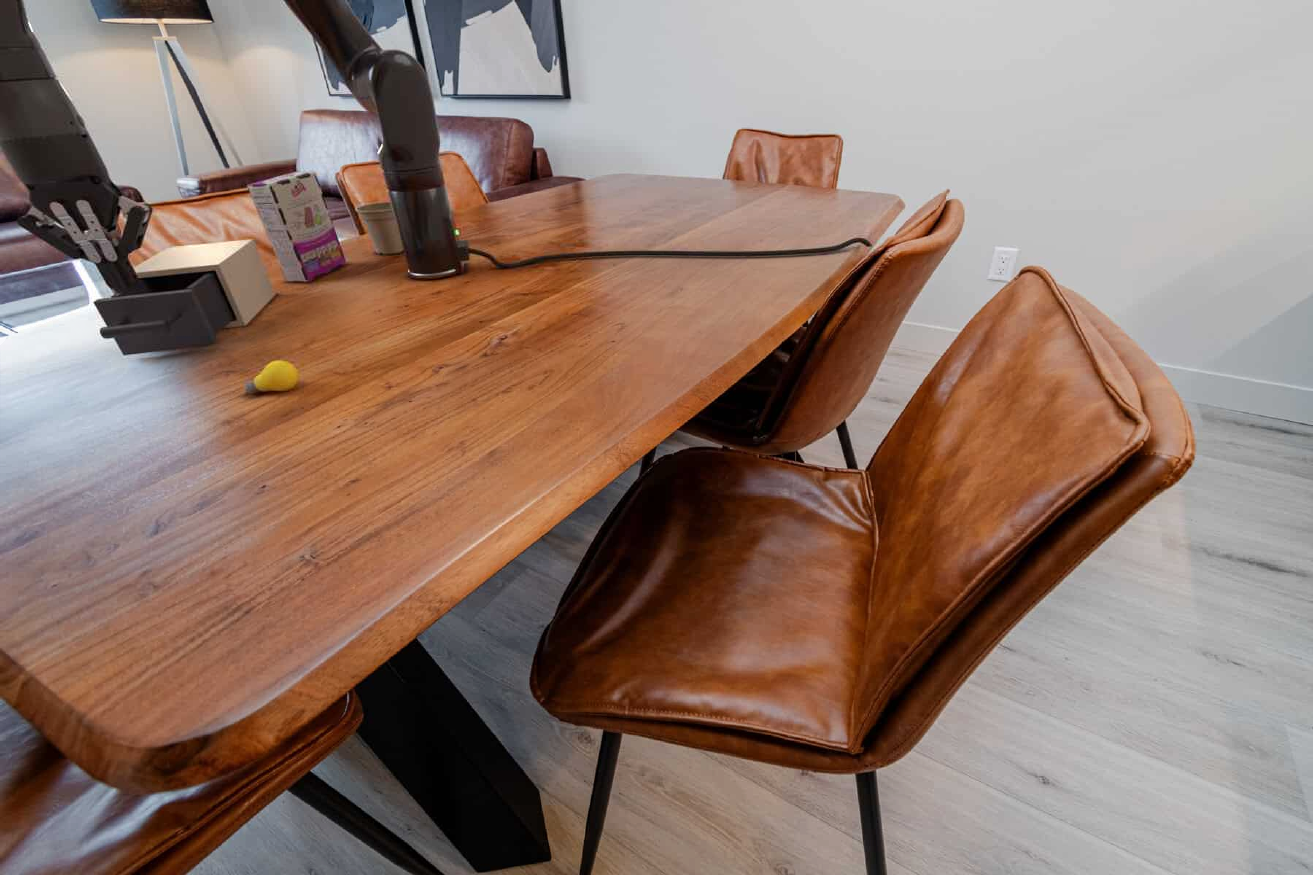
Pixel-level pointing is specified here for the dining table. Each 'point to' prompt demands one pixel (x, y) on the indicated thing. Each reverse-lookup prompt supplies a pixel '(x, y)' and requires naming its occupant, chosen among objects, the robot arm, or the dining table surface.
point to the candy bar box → (298, 225)
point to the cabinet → (220, 272)
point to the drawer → (167, 313)
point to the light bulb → (274, 378)
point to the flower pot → (381, 227)
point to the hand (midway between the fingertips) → (128, 290)
